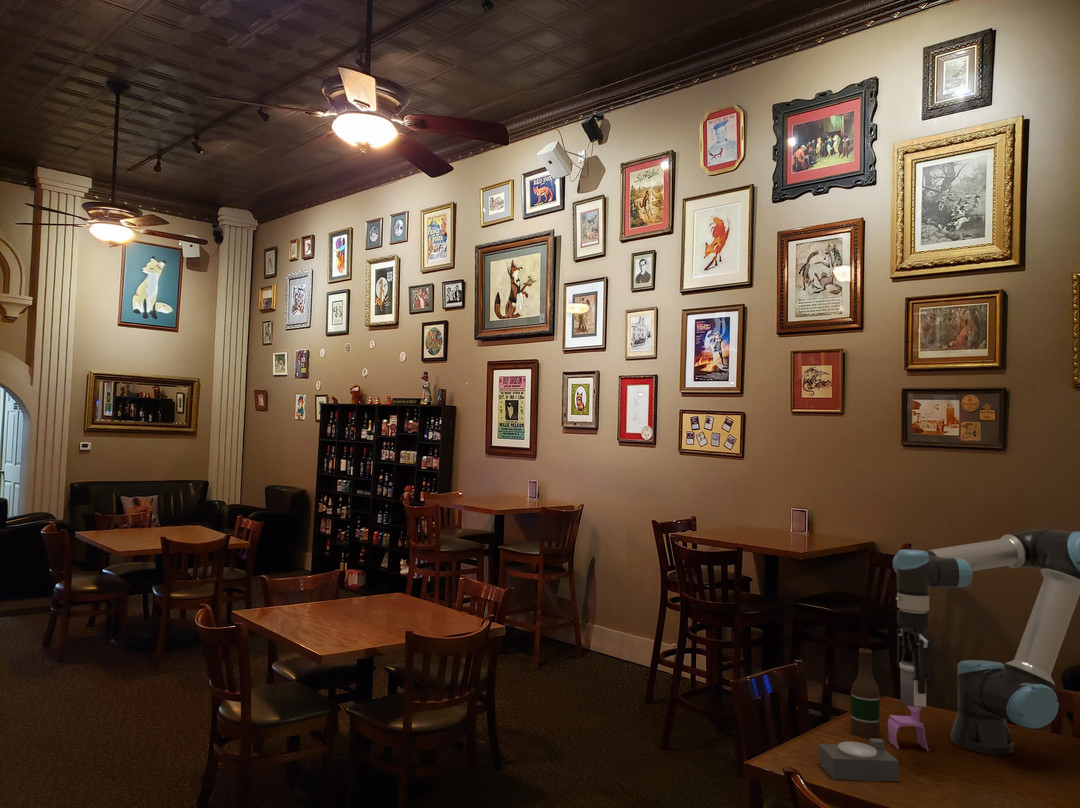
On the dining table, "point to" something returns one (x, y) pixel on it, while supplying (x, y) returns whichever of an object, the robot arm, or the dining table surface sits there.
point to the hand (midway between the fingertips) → (913, 701)
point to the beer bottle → (865, 699)
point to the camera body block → (858, 761)
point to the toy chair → (912, 720)
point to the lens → (907, 683)
